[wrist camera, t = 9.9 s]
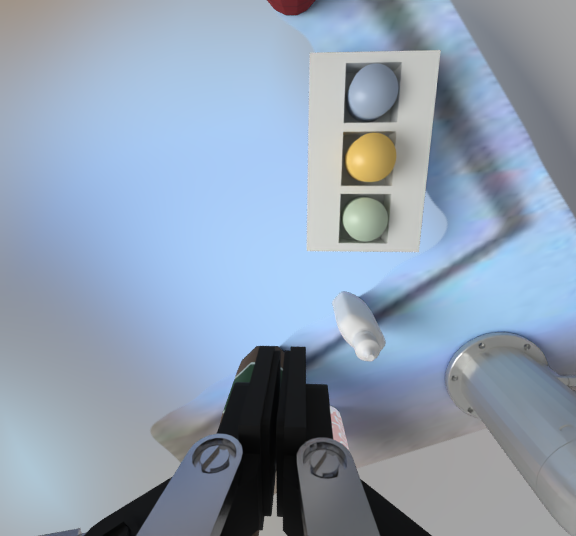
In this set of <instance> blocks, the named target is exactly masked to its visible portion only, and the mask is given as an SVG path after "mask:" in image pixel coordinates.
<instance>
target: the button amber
mask: <svg viewBox="0 0 576 536" xmlns="http://www.w3.org/2000/svg"><path fill="white" fill-rule="evenodd" d="M395 163H396V149H395V146H394V144H393V142H392V141H391V140H390V139H389V138H388V137H387V136H385V135H383V134H381V133H368V134H365V135H363V136H361V137H360V138H359V139H357V140H356V141H355V142H353V143H352V144H351V145H350V147H349V148H348V150H347V152H346V155H345V167H346V170H347V172H348V174H349V175H350V176H351V177H352V178H354V179H355V180H358V181H361V182H376V181H379V180H382V179H383V178H385V177H386V176H388V175H389V173H390V172H391V171H392V169H393V168H394V165H395Z"/></svg>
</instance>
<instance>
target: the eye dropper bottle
mask: <svg viewBox="0 0 576 536" xmlns="http://www.w3.org/2000/svg"><path fill="white" fill-rule="evenodd" d="M332 303H333V308H334V313H335V318H336V322H337V325H338V328H339V330H340V332H341V334H342V336H343V337H344V339H345V340H346V341H347V342H348V343H349V344H350V345H351V346H352V347H353V348H354V350H355V353H356V355H357V357H358V358H359V359H361V360H364V361H373V360H374V359H375V358H377V357H378V355H379V353H380V351H381V350H382V349H383V348H384V346H385V338H384V336H383V334H382V332H381V330H380V328H379V326H378V324H377V322H376V320H375V318H374V316H373V314H372V312H371V310H370V308H369V307H368V306H367V304H366V303H365V302H364V301H363V300H361V299H360V298H359V297H357V296H356V295H354V294H351V293H349V292H341V293H340V294H339V295H338V296H337V297H336V298H335V299H334V300H333V302H332Z"/></svg>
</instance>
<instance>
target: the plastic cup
mask: <svg viewBox="0 0 576 536" xmlns="http://www.w3.org/2000/svg"><path fill="white" fill-rule="evenodd" d="M267 1H268V2H269V3H270V4H271V6H272V7H273V8H274V9H275V10H276V11H278V12H280V13H282V14H285V15H298V14H300V13H302V12H304V11H306V10H308V8H309V7H310V6H311V5H312V4H313V3H314V2H315V0H267Z"/></svg>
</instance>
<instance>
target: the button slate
mask: <svg viewBox="0 0 576 536" xmlns="http://www.w3.org/2000/svg"><path fill="white" fill-rule="evenodd" d="M397 95H398V81H397V78H396V76H395V74H394V72H393V71H392V70H391V69H390V68H389V67H387V66H385V65H383V64H370V65H367V66H365V67H363V68H362V69H361V70H360V71H359V72H358V73H357V74H356V75H355V77H354V79H353V81H352V83H351V85H350V87H349V89H348V91H347V95H346V107H347V110H348V112H349V114H350V115H351V116H352V117H353V118H354V119H355V120H357V121H360V122H372V121H374V120H376V119H378V118H379V117H381V116H382V115H383V114H384V113H385V112H387V111H388V110H389V109H390V108H391V107H392V106H393V104H394V102H395V101H396V98H397Z"/></svg>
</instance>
